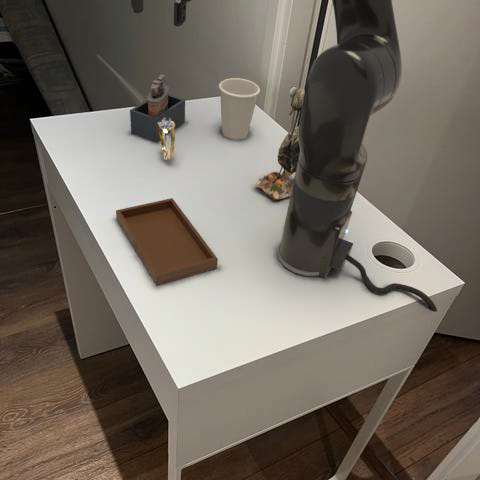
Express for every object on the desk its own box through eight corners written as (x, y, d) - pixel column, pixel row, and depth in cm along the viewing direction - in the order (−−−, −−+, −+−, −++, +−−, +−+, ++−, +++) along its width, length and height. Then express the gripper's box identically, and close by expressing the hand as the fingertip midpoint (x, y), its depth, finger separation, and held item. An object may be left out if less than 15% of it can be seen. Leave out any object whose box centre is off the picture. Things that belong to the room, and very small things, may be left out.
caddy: (184, 122, 109) (185, 100, 106) (156, 143, 102) (155, 119, 99) (160, 114, 111) (160, 91, 107) (131, 133, 104) (129, 110, 100)
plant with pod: (316, 190, 97) (343, 86, 82) (270, 205, 92) (290, 96, 77) (291, 169, 101) (312, 66, 86) (245, 182, 96) (259, 75, 81)
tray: (216, 268, 79) (217, 258, 77) (156, 285, 75) (156, 275, 73) (172, 207, 88) (172, 197, 87) (116, 220, 84) (115, 210, 83)
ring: (177, 167, 97) (178, 128, 91) (161, 168, 96) (160, 129, 90) (170, 149, 101) (171, 110, 95) (155, 150, 100) (154, 111, 94)
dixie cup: (236, 120, 113) (240, 74, 105) (261, 136, 109) (268, 90, 102) (207, 129, 108) (210, 82, 101) (233, 146, 105) (238, 99, 97)
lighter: (160, 138, 104) (160, 89, 96) (144, 135, 104) (143, 86, 96) (171, 121, 109) (172, 74, 102) (156, 118, 109) (156, 70, 102)
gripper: (105, -104, 77) (113, 13, 89) (184, -84, 74) (181, 35, 86) (133, -108, 82) (137, 3, 94) (209, -89, 79) (203, 24, 91)
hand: (158, 18), depth 90 cm, fingers open, 8 cm apart
